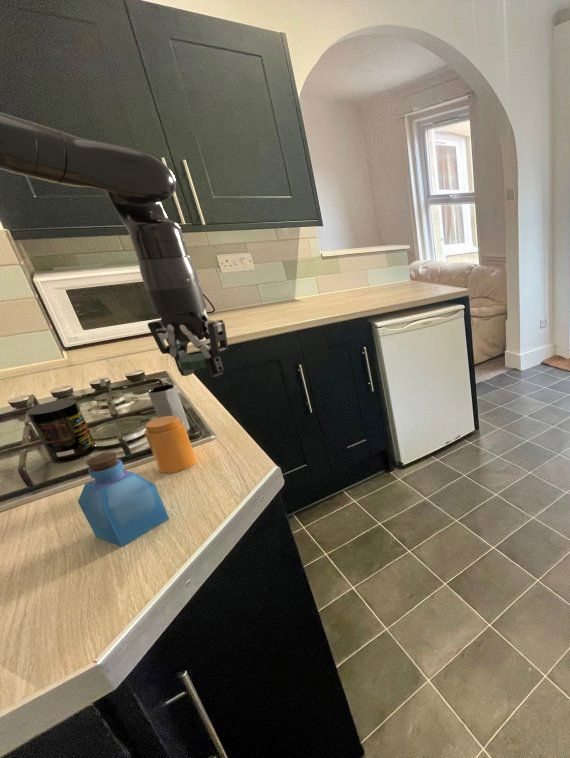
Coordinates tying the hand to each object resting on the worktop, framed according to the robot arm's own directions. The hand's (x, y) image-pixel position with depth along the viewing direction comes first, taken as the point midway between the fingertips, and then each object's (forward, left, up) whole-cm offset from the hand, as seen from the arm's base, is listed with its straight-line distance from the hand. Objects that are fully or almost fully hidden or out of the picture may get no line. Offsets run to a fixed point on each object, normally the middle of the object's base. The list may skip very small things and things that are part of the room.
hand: (202, 374), depth 79 cm
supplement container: (-29, +1, -16) cm, 33 cm away
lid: (0, 0, +3) cm, 3 cm away
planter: (-14, +8, -16) cm, 22 cm away
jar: (-5, -6, -15) cm, 17 cm away
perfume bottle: (-1, -24, -16) cm, 29 cm away
